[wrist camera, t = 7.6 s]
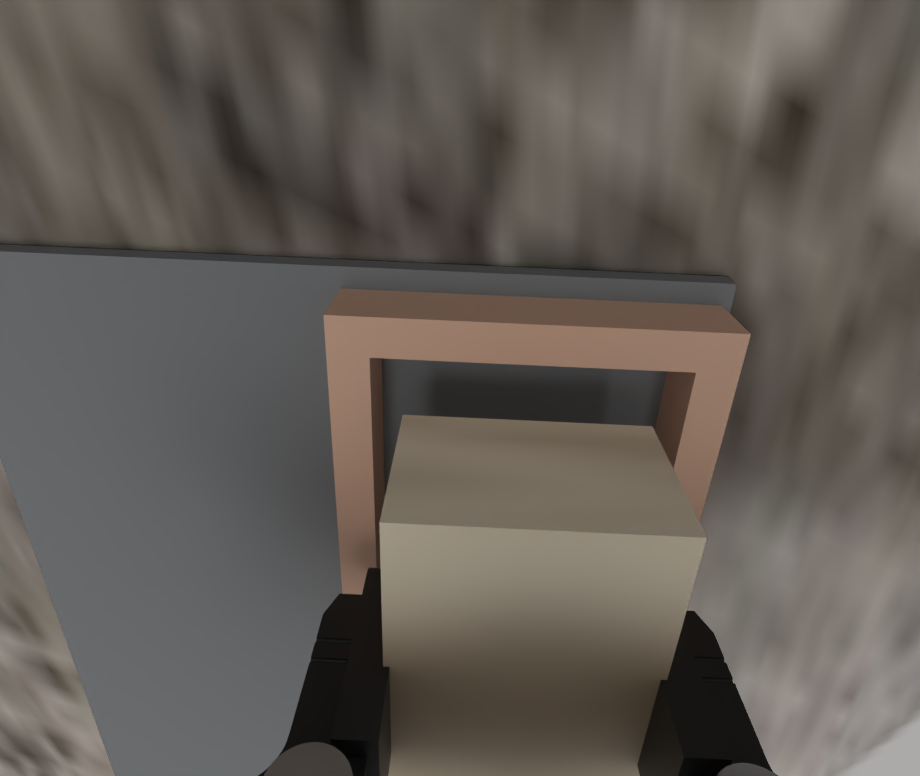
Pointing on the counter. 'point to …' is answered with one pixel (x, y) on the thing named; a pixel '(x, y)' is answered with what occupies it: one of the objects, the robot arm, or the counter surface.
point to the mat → (230, 466)
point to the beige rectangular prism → (530, 594)
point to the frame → (522, 343)
